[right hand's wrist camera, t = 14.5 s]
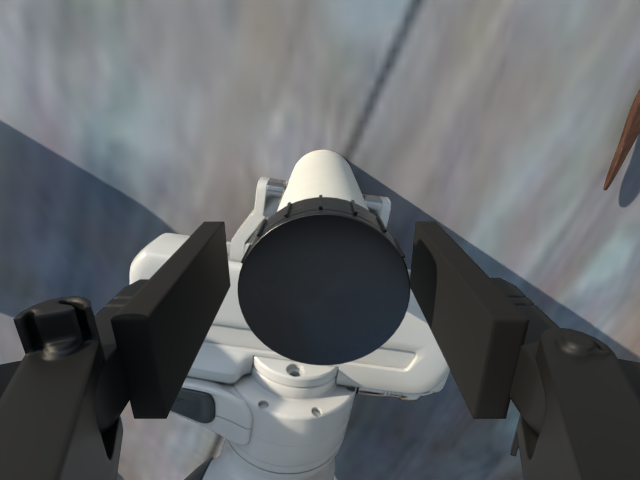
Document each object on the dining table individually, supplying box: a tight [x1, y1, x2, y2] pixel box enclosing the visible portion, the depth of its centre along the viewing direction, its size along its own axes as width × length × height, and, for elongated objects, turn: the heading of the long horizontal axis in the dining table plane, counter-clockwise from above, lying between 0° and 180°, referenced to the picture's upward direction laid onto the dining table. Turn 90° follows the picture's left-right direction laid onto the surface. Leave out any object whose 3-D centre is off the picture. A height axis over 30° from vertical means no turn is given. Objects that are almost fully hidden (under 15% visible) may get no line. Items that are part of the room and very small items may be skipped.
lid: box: [238, 195, 410, 365], centre depth 12 cm, size 5×5×2 cm
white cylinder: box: [277, 150, 369, 211], centre depth 19 cm, size 4×4×16 cm
